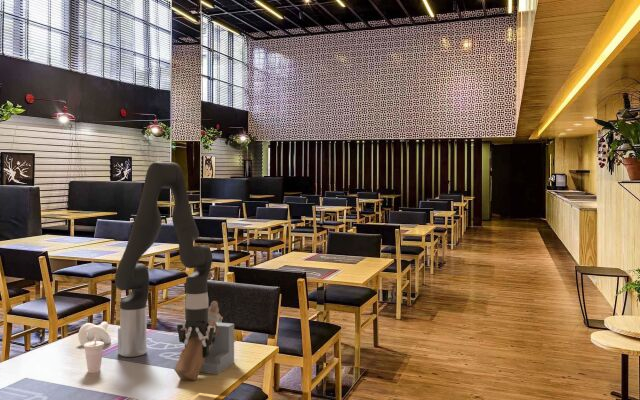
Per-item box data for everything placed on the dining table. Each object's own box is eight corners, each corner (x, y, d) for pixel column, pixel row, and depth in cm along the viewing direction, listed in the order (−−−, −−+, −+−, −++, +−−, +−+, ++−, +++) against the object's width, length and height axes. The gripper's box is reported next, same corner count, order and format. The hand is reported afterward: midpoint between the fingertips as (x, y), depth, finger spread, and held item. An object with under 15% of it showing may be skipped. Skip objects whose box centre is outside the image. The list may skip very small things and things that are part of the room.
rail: (180, 379, 164) (174, 369, 161) (205, 328, 179) (199, 318, 175) (195, 380, 162) (189, 371, 159) (219, 329, 177) (214, 319, 174)
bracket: (183, 370, 172) (182, 329, 172) (201, 359, 184) (201, 320, 184) (217, 374, 168) (217, 332, 168) (234, 362, 180) (234, 323, 180)
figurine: (212, 350, 197) (215, 305, 190) (194, 343, 199) (196, 299, 193) (224, 338, 205) (227, 295, 198) (205, 332, 207) (208, 289, 201)
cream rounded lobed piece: (119, 344, 202) (119, 321, 202) (95, 352, 192) (95, 329, 191) (99, 340, 207) (99, 318, 207) (74, 348, 196) (74, 325, 196)
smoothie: (108, 370, 172) (108, 329, 172) (94, 376, 166) (94, 334, 166) (93, 368, 174) (93, 327, 174) (79, 374, 168) (79, 332, 168)
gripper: (171, 306, 167) (171, 357, 167) (210, 309, 162) (210, 361, 163) (184, 302, 174) (184, 351, 174) (221, 304, 170) (221, 354, 170)
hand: (197, 356), depth 168 cm, fingers closed on rail, 5 cm apart
